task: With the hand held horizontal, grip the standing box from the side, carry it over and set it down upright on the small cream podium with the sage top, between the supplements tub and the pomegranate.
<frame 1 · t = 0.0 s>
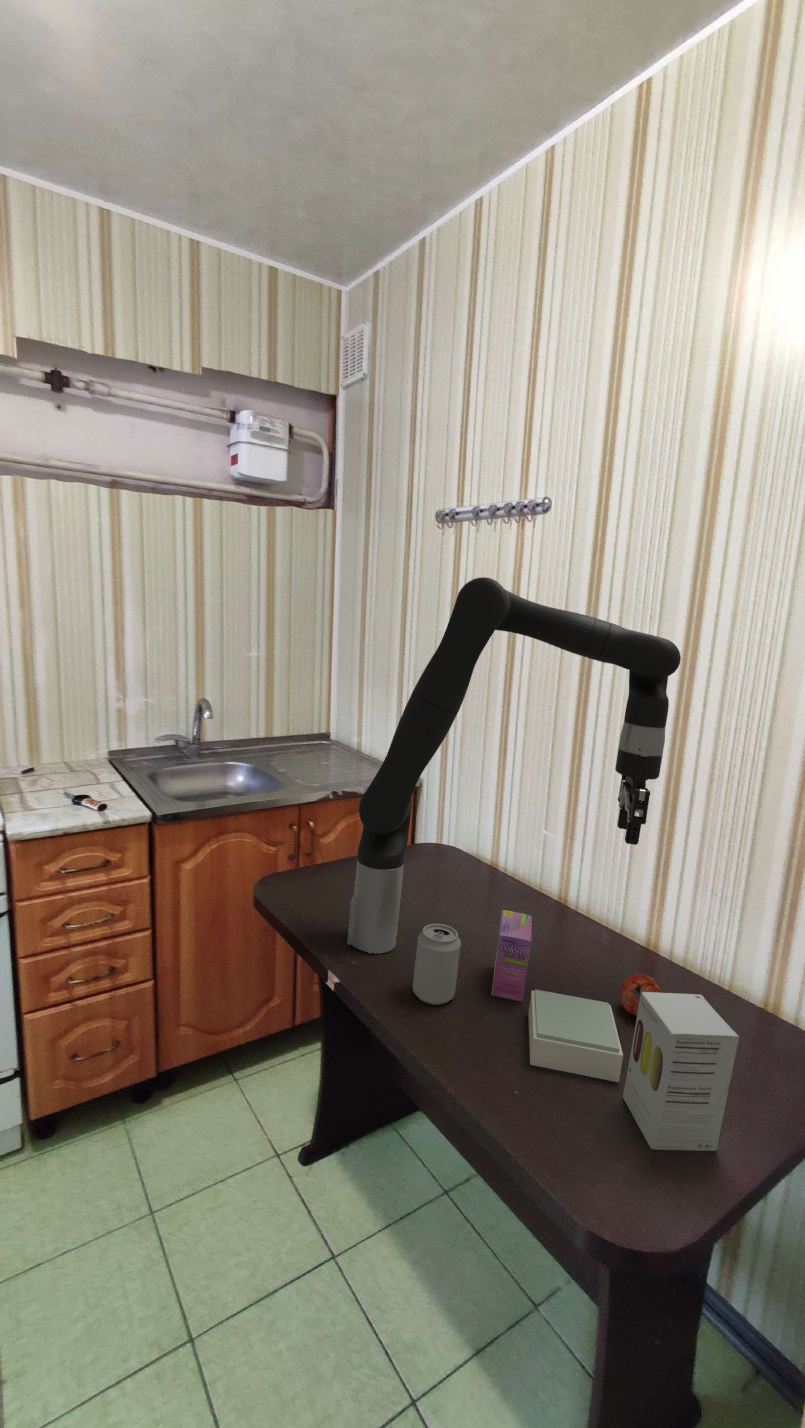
hand: (627, 835, 118), 29 cm above the table, tool pointing down, fingers open, 8 cm apart
supplement box: (667, 1124, 89), on the table
pomegranate: (639, 1014, 114), on the table
can: (433, 995, 114), on the table
podium: (570, 1045, 103), on the table
box: (508, 984, 120), on the table
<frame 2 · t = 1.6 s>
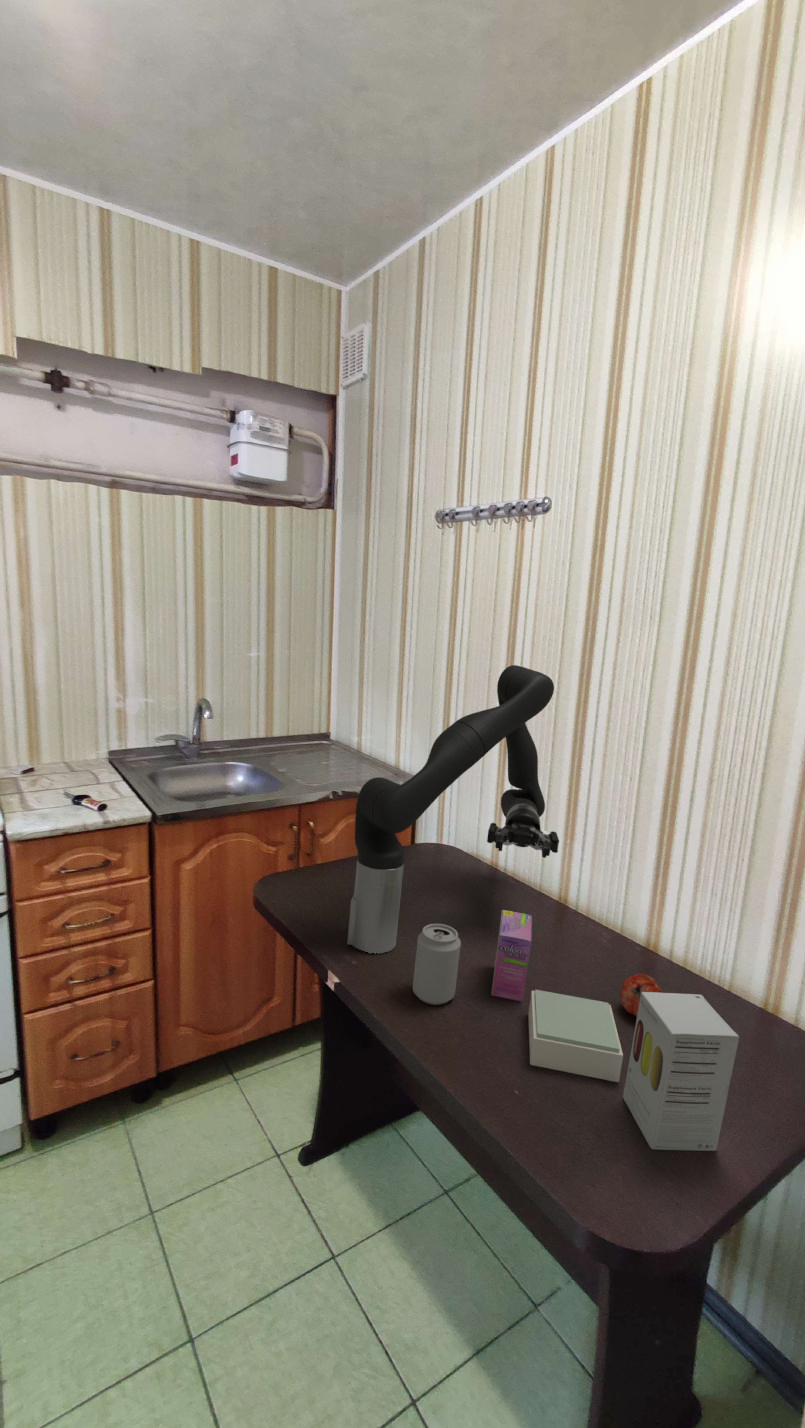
hand: (522, 849, 127), 22 cm above the table, tool horizontal, fingers open, 8 cm apart
nothing on the table moved.
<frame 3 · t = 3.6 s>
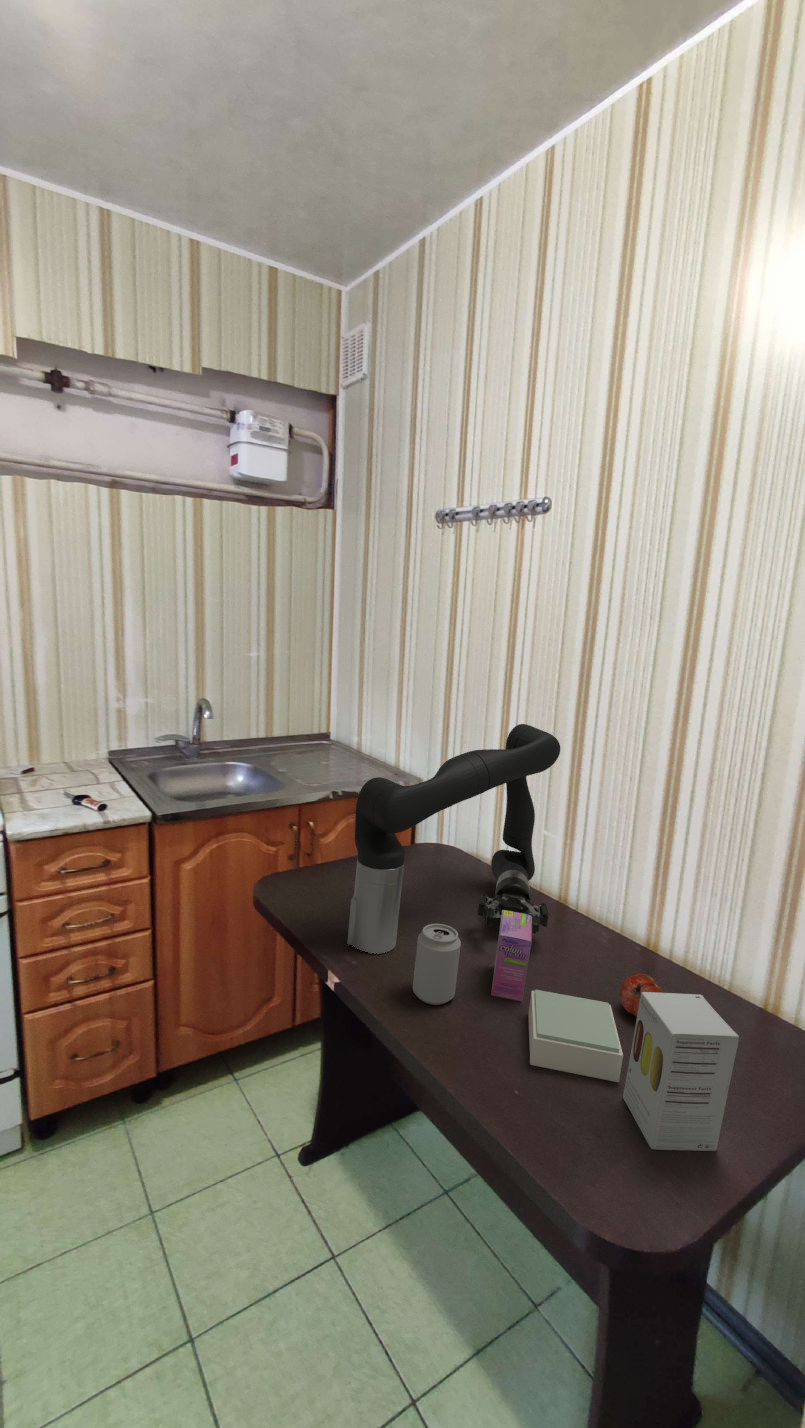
hand: (512, 925, 128), 7 cm above the table, tool horizontal, fingers open, 8 cm apart
nothing on the table moved.
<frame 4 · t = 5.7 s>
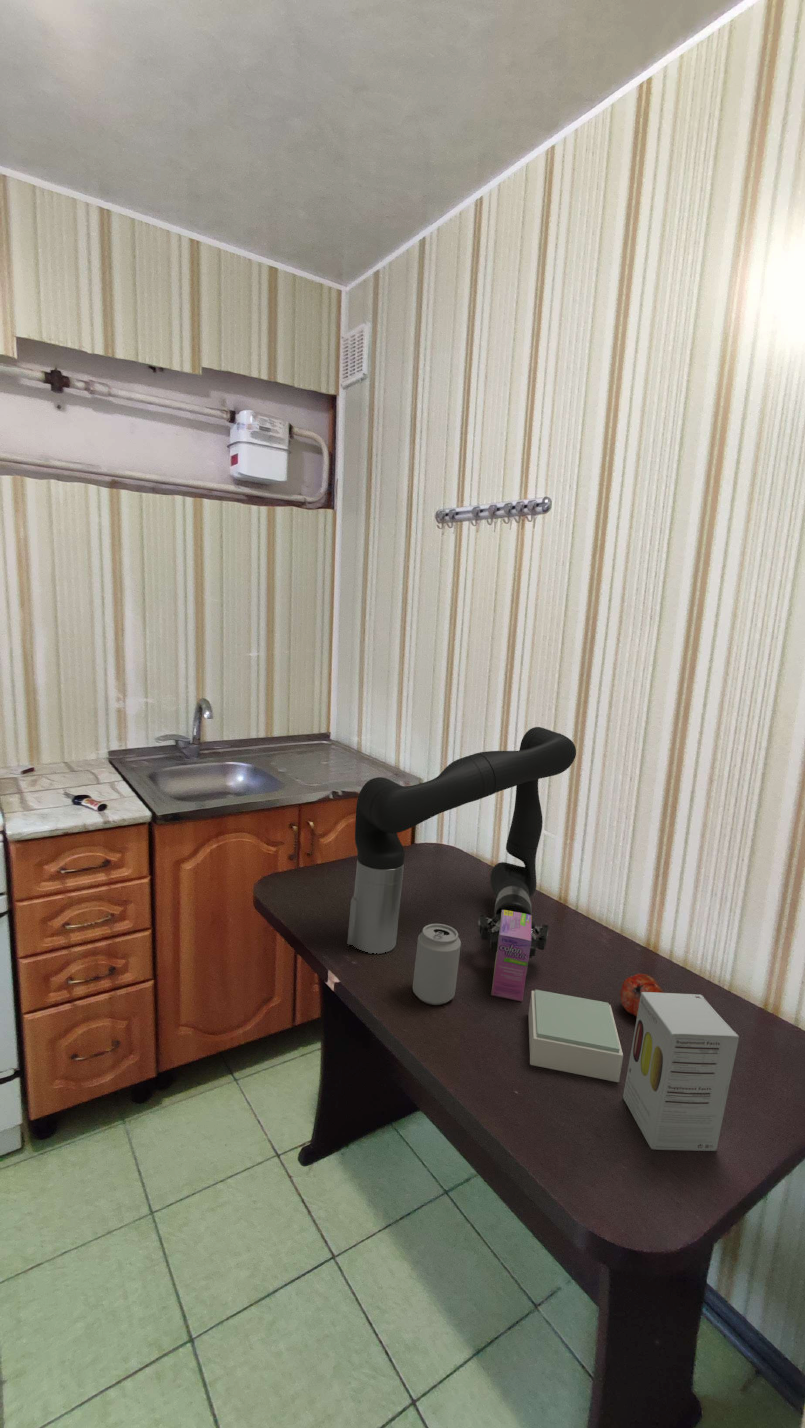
hand: (513, 950, 118), 7 cm above the table, tool horizontal, fingers closed on box, 5 cm apart
box: (508, 984, 120), on the table, touching gripper
everything else where it was.
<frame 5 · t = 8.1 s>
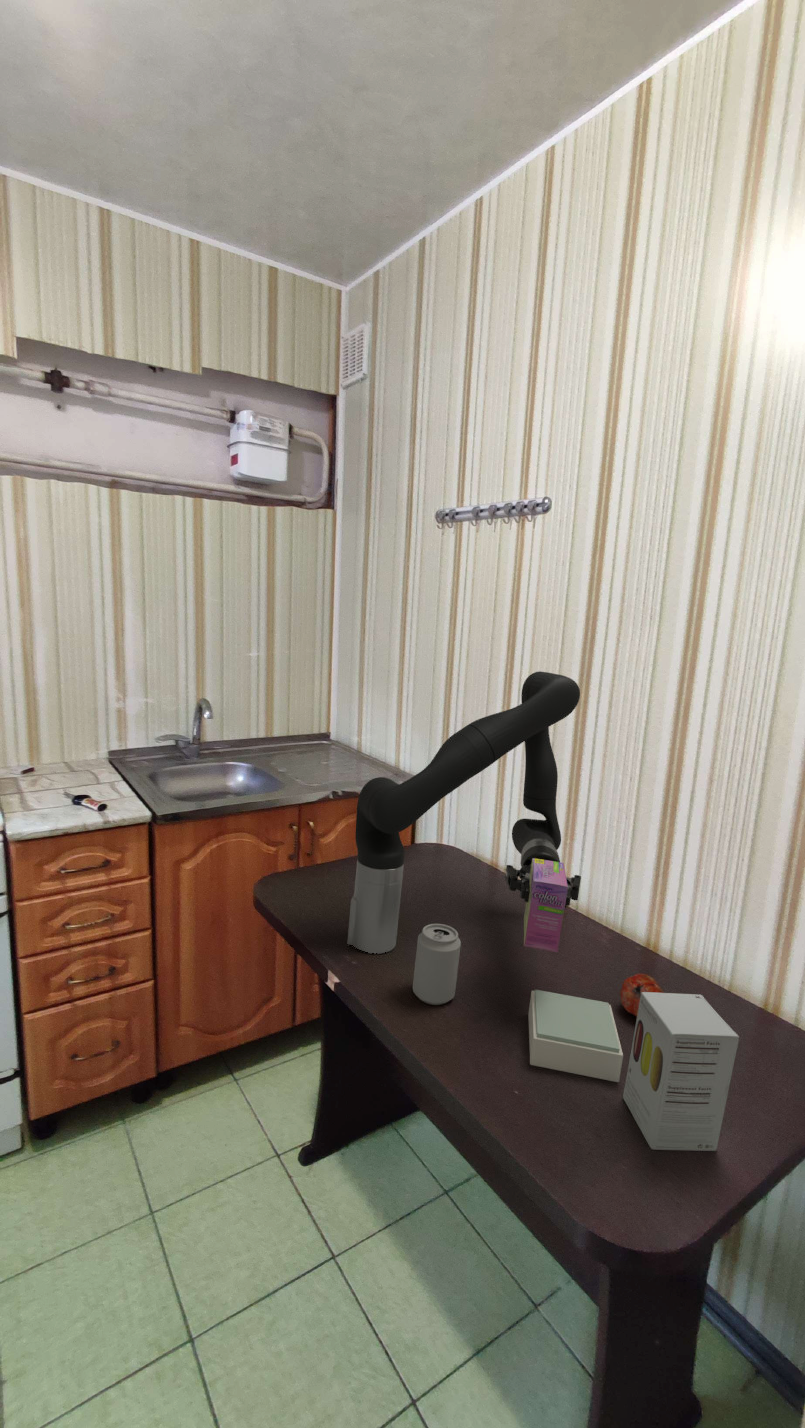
hand: (546, 899, 110), 20 cm above the table, tool horizontal, fingers closed on box, 5 cm apart
box: (540, 936, 112), point 13 cm above the table, touching gripper
everything else where it was.
when the fingers open (13 cm above the table, at t = 10.5 s): box drops 1 cm, resting on podium.
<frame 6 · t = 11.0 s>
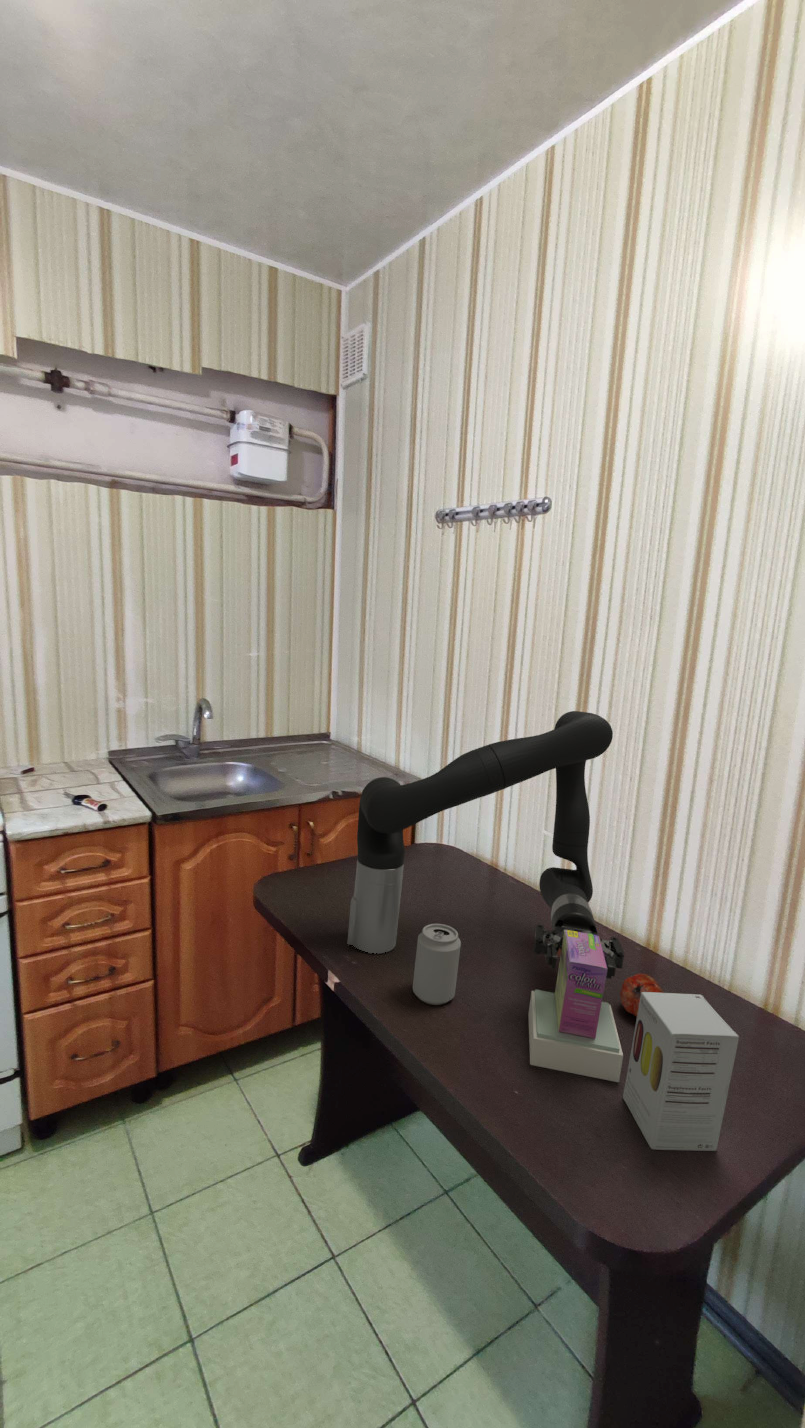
hand: (581, 968, 101), 13 cm above the table, tool horizontal, fingers open, 8 cm apart
box: (574, 1017, 103), point 5 cm above the table, touching podium
everything else where it was.
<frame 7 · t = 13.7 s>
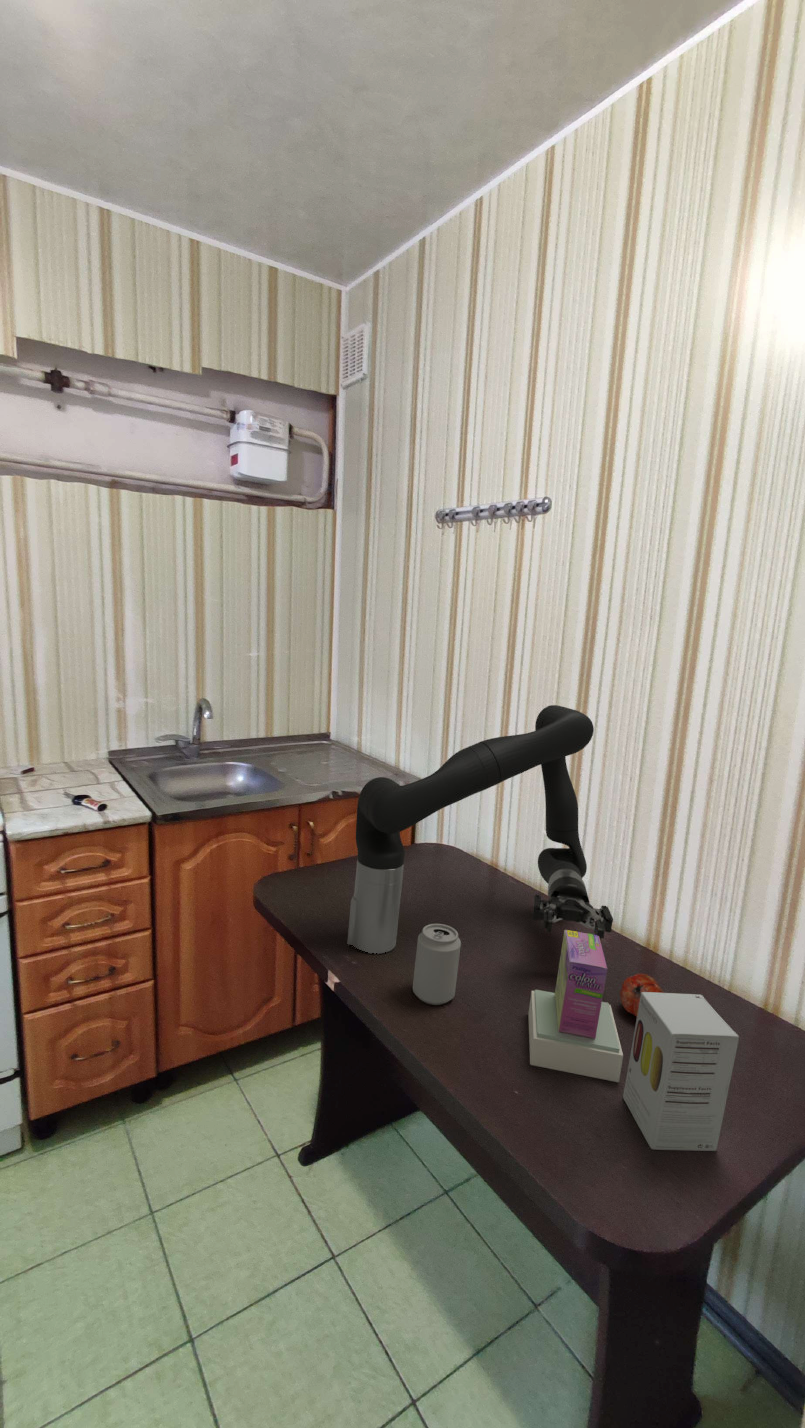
hand: (574, 931, 114), 13 cm above the table, tool horizontal, fingers open, 8 cm apart
nothing on the table moved.
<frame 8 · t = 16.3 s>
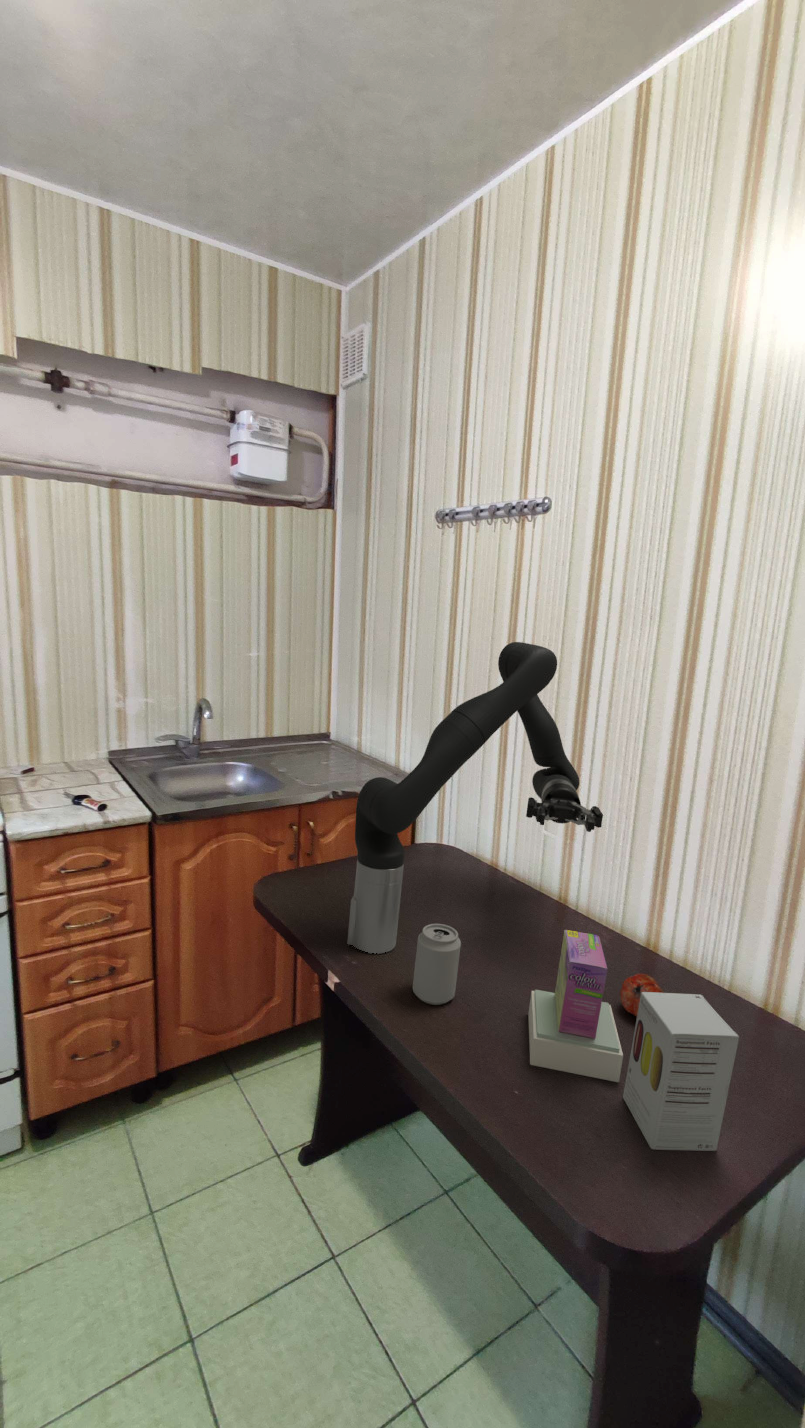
hand: (566, 823, 120), 30 cm above the table, tool horizontal, fingers open, 8 cm apart
nothing on the table moved.
at the end: box inside the target area on the podium (0.3 cm from its centre), point 4.8 cm above the podium's base; box tilted 0°; the gripper is holding nothing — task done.
